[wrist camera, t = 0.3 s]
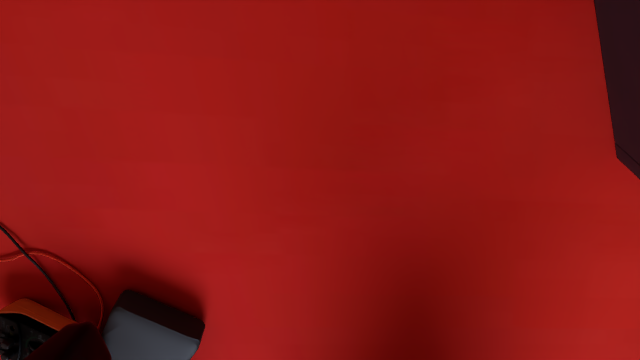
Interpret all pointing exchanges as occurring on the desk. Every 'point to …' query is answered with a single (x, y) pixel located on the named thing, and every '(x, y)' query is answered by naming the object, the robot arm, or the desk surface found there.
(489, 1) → the desk surface
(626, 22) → the tote
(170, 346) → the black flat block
